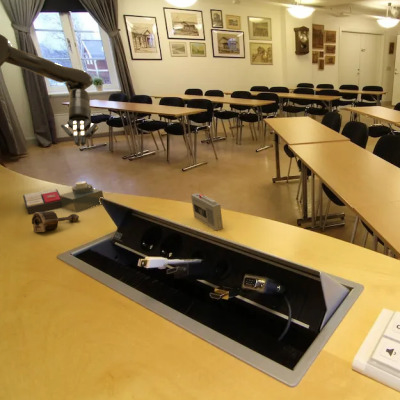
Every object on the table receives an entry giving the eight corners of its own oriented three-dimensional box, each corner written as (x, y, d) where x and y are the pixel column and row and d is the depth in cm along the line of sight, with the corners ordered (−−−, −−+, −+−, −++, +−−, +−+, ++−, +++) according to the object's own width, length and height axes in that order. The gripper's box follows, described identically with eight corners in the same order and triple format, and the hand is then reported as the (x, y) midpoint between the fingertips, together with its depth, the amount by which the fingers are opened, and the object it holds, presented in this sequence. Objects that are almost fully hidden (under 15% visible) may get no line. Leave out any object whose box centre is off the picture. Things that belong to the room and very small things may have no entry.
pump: (80, 189, 125) (78, 184, 124) (74, 188, 126) (73, 183, 126) (89, 186, 128) (88, 182, 127) (84, 185, 129) (83, 180, 129)
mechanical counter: (25, 213, 108) (25, 216, 100) (70, 200, 115) (73, 202, 108) (35, 233, 110) (35, 237, 102) (79, 219, 117) (82, 222, 110)
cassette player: (194, 217, 119) (190, 192, 115) (201, 215, 121) (197, 190, 117) (215, 230, 109) (212, 203, 106) (223, 228, 111) (220, 201, 107)
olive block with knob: (76, 212, 122) (70, 194, 119) (62, 208, 125) (57, 190, 123) (105, 203, 131) (100, 185, 128) (91, 199, 135) (87, 182, 132)
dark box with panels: (25, 205, 118) (22, 193, 128) (29, 216, 120) (25, 203, 129) (62, 198, 125) (56, 187, 135) (65, 208, 127) (59, 196, 137)
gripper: (57, 105, 132) (56, 140, 126) (95, 104, 137) (96, 138, 131) (64, 117, 139) (64, 151, 133) (100, 116, 144) (102, 148, 138)
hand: (80, 144), depth 132 cm, fingers closed
